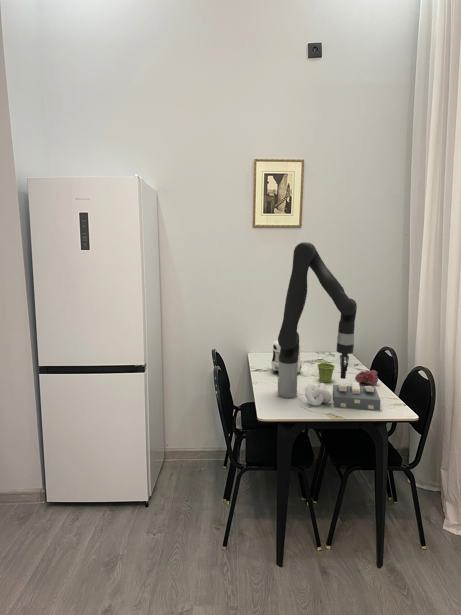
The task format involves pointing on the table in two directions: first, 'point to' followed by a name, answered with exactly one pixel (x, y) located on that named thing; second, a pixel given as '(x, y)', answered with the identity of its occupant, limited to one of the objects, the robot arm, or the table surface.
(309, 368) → the table surface
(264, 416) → the table surface
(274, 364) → the milk container
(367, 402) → the switch unit
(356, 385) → the rocker
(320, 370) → the plant pot
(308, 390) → the white knot sculpture
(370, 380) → the flower
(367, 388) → the rocker
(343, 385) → the rocker
